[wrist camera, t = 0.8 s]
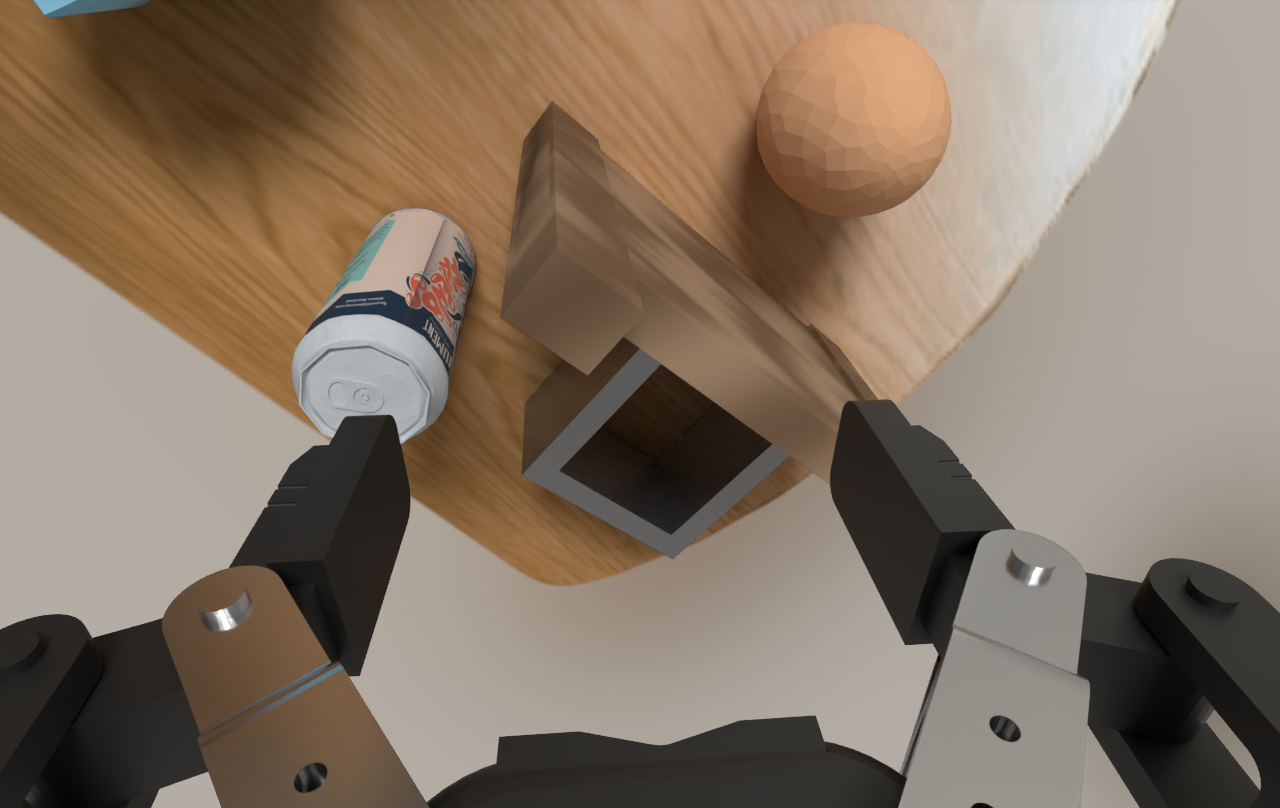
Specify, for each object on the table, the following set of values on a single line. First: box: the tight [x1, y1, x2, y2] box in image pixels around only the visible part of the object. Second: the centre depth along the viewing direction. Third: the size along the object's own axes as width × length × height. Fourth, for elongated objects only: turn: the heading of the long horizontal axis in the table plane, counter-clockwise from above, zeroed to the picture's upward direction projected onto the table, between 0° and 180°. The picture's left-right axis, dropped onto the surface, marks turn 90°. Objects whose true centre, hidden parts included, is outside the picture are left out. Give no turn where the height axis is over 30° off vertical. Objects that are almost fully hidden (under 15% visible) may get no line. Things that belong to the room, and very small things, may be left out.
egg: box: [756, 23, 952, 218], centre depth 26 cm, size 7×7×9 cm
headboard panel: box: [500, 101, 878, 484], centre depth 25 cm, size 19×2×17 cm, turn 49°
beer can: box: [291, 208, 476, 444], centre depth 26 cm, size 5×5×12 cm
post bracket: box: [522, 337, 789, 559], centre depth 34 cm, size 9×9×6 cm
